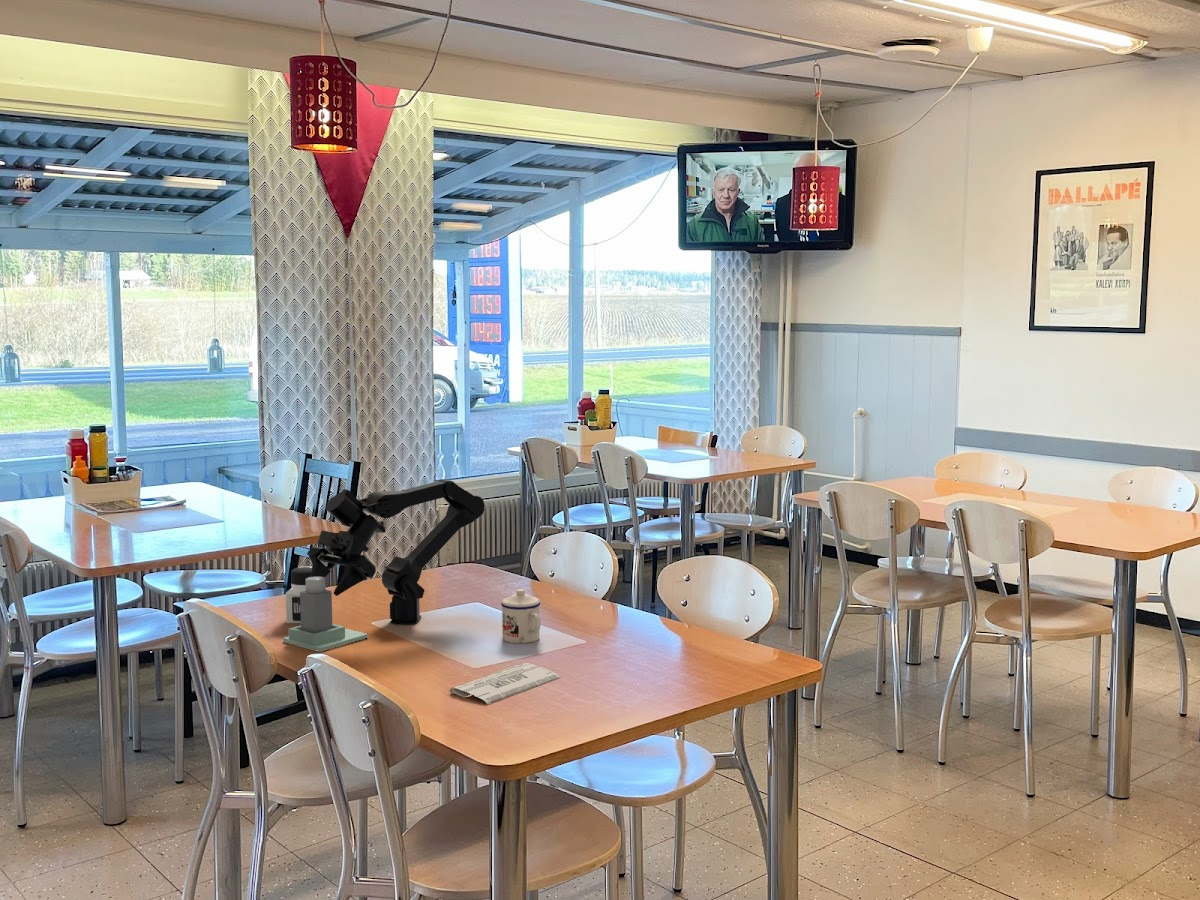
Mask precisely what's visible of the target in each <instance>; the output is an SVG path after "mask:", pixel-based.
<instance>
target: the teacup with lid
mask: <svg viewBox="0 0 1200 900" xmlns="http://www.w3.org/2000/svg"><path fill="white" fill-rule="evenodd" d="M500 605H501V609H502V610H501V614H502V616H501V617H502V618H501V621H502V623H501V624H502V626H501V627H502V633H501V635H502V640H503V641H504V642H506V643H511V644H517V643H523V644H531V643H534V642H536V640H537V641H538V640H539V639H540V630H541V623H542V622H541V618H540V605H541V601H540V599H539V598H537V597H535V596H532V595H531V594H528V593H526V591H525V589H520V588H519V589H517V590H516V593H514V594H511V595H510V596H508V597H505V598H503V599H502V601H501V603H500ZM530 642H531V643H530Z"/></svg>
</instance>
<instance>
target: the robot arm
mask: <svg viewBox="0 0 1200 900" xmlns="http://www.w3.org/2000/svg"><path fill="white" fill-rule="evenodd" d="M439 499H444V501H445V502H446V503H448V506H447V510H446V513H445V516H444V517H443V519H441V520H440V522H438V523H437V524H436V526H435V527H434V528H433V529H432V530H431V531H430V532H429V533H428V534H427V535H426V536H425V537H424V539H422V540H421V542H419V544H417V546H416V547H414V548H413V550H412V551H411V552H410V553H409V554H408V555H407V556H405V557H400V556H396V555H395V556H394V558H392V560H391V561H390V563H388V564H387V565H386V566H384V570H383V572H382V574H381V582H382V585H383V587H384V588H385V589H386V590H387V593H388V595H389V596H390V595H391V596H392V597H391V601H390V603H389V619H390V624H400V625H406V624H407V625H408V624H409V625H417V624H418V623H419V621H420V620H421V619H420V618H422V615H421V614H420V613H421V612H420V608H421V605H420V599H423V597H424V594H425V589H424V587H422V586H421V584H419V583H418V582H419V581H420V578H421V575H422V572H423V569H424V568H425V566H427V564H428V563H429V562H430V561H431V560H432V559H433V558H434V557H435V556H436V555H437V554H438V553H439V552H440V551H441V549H442V548H444V546H445V545H446V544H447V543H448V542H449V541H450V540H451V538H453V537H454V535H455V534H457V533H458V531H459V530H460V529H463V528H465V527H466V526H468V525H471V524H472V523H474V522H475V521H476V520H478V519H479V518H481V517H482V515H484V512H485V501H484V499H483V498H482V497H480V495H475V494H472V493H471V492H469V491H467V490H466V489H464V488H462V487H461V486H460V485H458V484H457V483H456V482H455V481H453V480H449V479H444V478H442V479H439V480H436V481H433V482H430V483H427V484H422V485H418V486H415V487H410V488H407V489H402V490H396V491H395V490H389V491H388V490H384V491H383V490H380V491H373V492H371V493H369V494H368V495H367V497H365V498H361V499H358V498H356V496H354V494H353V493H352V492H351V490H349V489H347V488H344V489H342V490H341V492H339V493H336V494H335V495H334V496H332V497H331V498H329V500H328V501H327V503H326V506H325V509H326V511H327V512H328V513H329V514H330V515H331V516H333V518H334V519H336V520H337V521H338V522H339V523H341V524H342V526H348V525H350V526H349V527H348V529H347V531H344V530H339V531H338V532H337V533H336V532H332V531H328V530H327V531H326V530H321V531H320V533H319V536H318V539H317V544H318V545H324V546H326V547H328V549H327V548H326V547H321V546H317V545H316V546H311V547H310V548H309V550H308V552H307V553H306V555H307V556H308V559H309V560H310V561H311V567H312V572H311V576H310V577H324V578H325V579H326V577H327V576H328V575H329V574H330V573H331V572H332V571H331V569H333V568H334V567H335V565H338V566H343V567H344V571H343V572H344V573H343V575H342V576H341V578H340V580H339V582H338V583H337V585H336V587H335V588H334V591H333V595H335V597H337V596H339V595H341V594H343V593H344V592H346V591H347V590H349V589H351V588H352V587H354V586H356V585H358V584H360V583H361V582H363V581H367V580H368V579H373V577H374V576H375V574H376V572H377V571H376V570H377V567H376V565H375V564H374V563H373V562H372V561H371V560H370V559H369V558H368V557H367V556H366V555H362V553H363V552H364V553H367V552H368V551H369V550H370V548H369V547H368V544H369V542H370V541H371V540H372V538H373V537H374V535H375V533H380V534H381V533H383V534H385V533H386V527H385V522H384V521H383V520H380V521H379V520H377V518H382V519H389V518H392V517H394V516H396V515H398V514H401V512H403V511H404V510H405V509H408V508H409V507H413V506H417V505H420V504H424V503H427V502H431V501H435V500H439ZM365 512H367V513H368V514H367V513H365ZM375 517H377V518H375ZM328 550H329V551H328Z"/></svg>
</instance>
